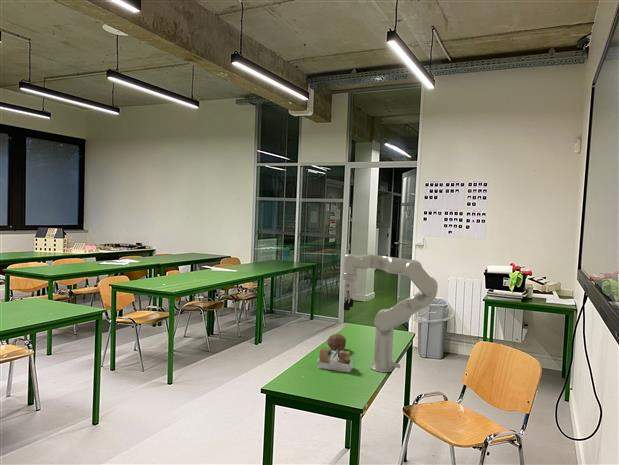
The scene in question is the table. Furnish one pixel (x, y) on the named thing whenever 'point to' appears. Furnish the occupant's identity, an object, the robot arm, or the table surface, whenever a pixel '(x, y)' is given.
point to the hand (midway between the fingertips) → (348, 308)
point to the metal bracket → (333, 355)
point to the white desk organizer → (332, 362)
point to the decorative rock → (337, 342)
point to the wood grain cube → (344, 356)
